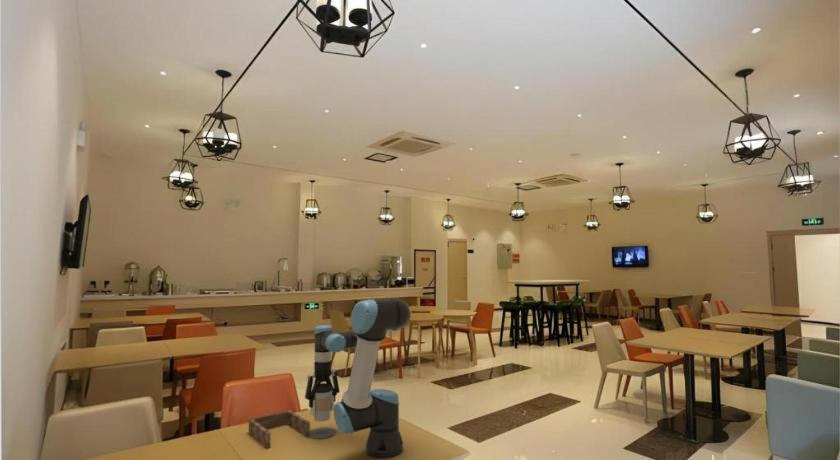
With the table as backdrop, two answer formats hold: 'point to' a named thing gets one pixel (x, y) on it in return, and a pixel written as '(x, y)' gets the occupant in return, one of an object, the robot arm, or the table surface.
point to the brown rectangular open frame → (276, 425)
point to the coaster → (322, 433)
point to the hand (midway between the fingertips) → (322, 412)
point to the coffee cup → (323, 402)
